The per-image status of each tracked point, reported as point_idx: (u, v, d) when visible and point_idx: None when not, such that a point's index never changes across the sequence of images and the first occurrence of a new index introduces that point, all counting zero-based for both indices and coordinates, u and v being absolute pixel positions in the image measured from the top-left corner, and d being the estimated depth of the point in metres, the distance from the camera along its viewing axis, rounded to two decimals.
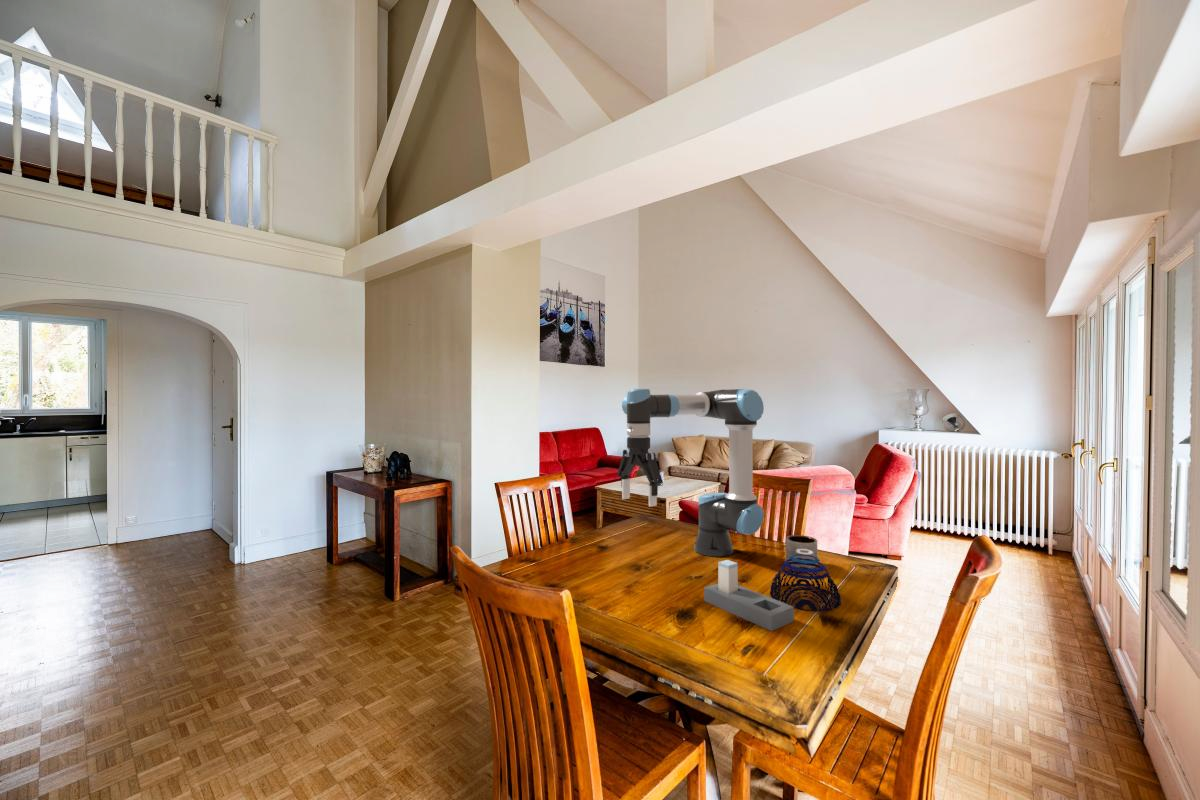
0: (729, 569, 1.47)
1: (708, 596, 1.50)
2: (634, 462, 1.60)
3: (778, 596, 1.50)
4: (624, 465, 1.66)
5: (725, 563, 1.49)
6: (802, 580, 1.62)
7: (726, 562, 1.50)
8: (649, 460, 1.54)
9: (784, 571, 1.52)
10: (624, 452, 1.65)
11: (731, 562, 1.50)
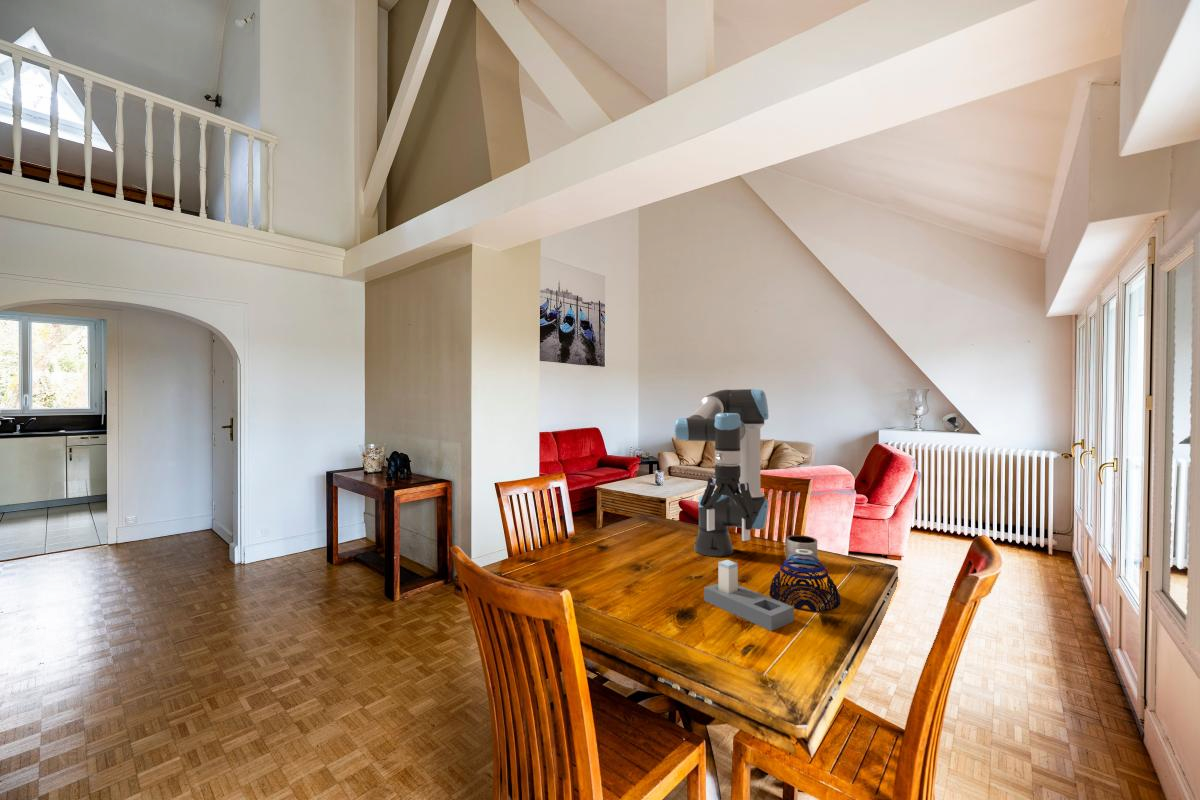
0: (729, 569, 1.47)
1: (708, 596, 1.50)
2: (723, 492, 1.49)
3: (777, 596, 1.50)
4: (709, 494, 1.55)
5: (725, 563, 1.49)
6: (801, 580, 1.62)
7: (726, 562, 1.50)
8: (743, 491, 1.43)
9: (783, 571, 1.52)
10: (710, 480, 1.54)
11: (731, 562, 1.50)
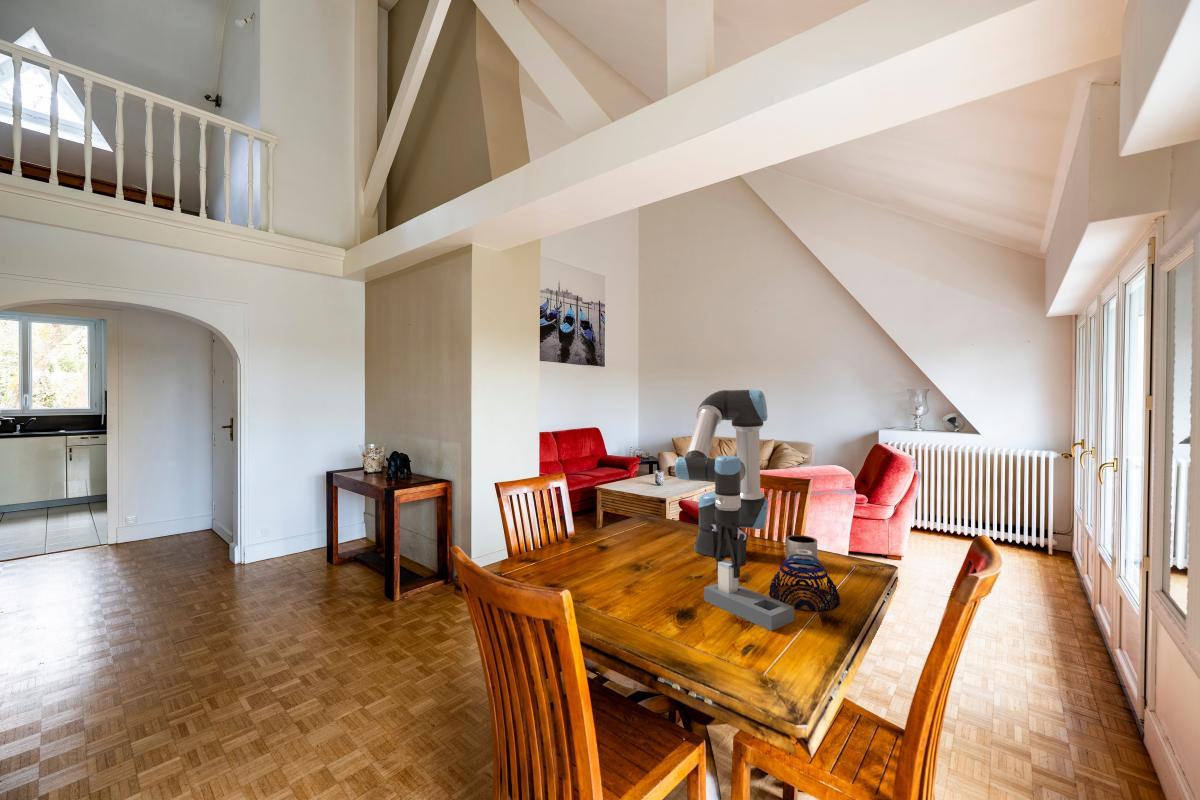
0: (729, 569, 1.47)
1: (708, 596, 1.50)
2: (723, 535, 1.50)
3: (777, 596, 1.50)
4: (715, 542, 1.53)
5: (725, 563, 1.49)
6: (801, 580, 1.62)
7: (726, 562, 1.50)
8: (740, 541, 1.44)
9: (783, 571, 1.52)
10: (710, 527, 1.54)
11: (731, 562, 1.50)
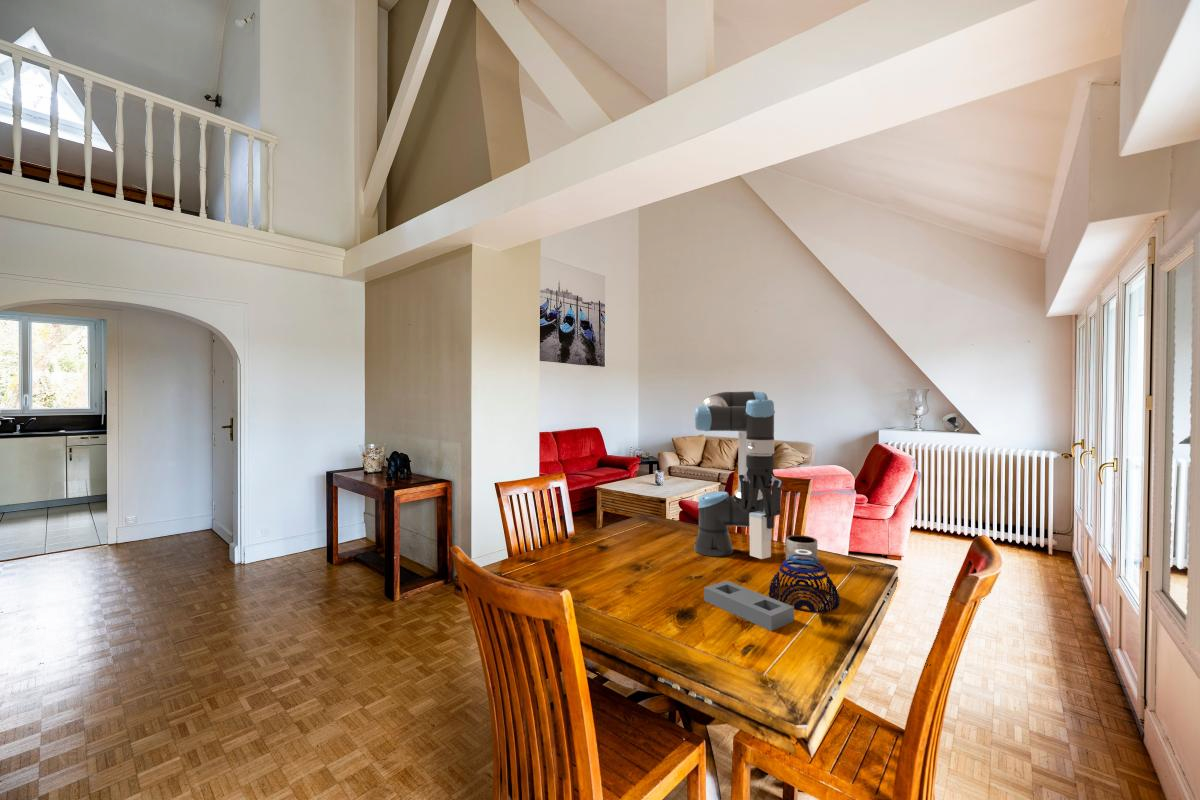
0: (762, 519, 1.37)
1: (708, 596, 1.50)
2: (755, 484, 1.40)
3: (777, 597, 1.49)
4: (746, 493, 1.43)
5: (757, 514, 1.38)
6: (801, 580, 1.62)
7: (758, 513, 1.39)
8: (774, 488, 1.34)
9: (783, 572, 1.51)
10: (741, 477, 1.44)
11: (764, 513, 1.40)
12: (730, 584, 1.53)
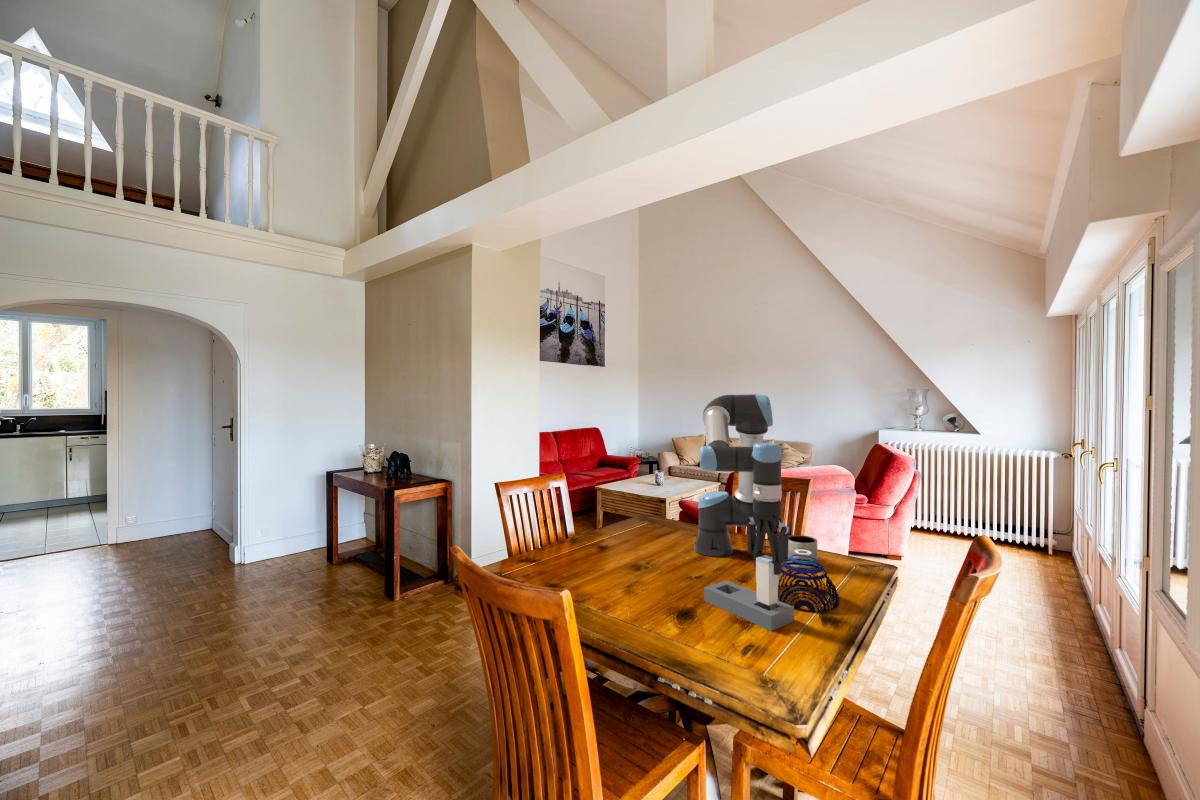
0: (769, 565, 1.35)
1: (708, 596, 1.50)
2: (762, 529, 1.38)
3: None
4: (752, 536, 1.42)
5: (764, 559, 1.37)
6: (800, 580, 1.62)
7: (765, 558, 1.38)
8: (782, 534, 1.33)
9: (782, 572, 1.51)
10: (747, 520, 1.42)
11: (770, 558, 1.38)
12: (730, 584, 1.53)
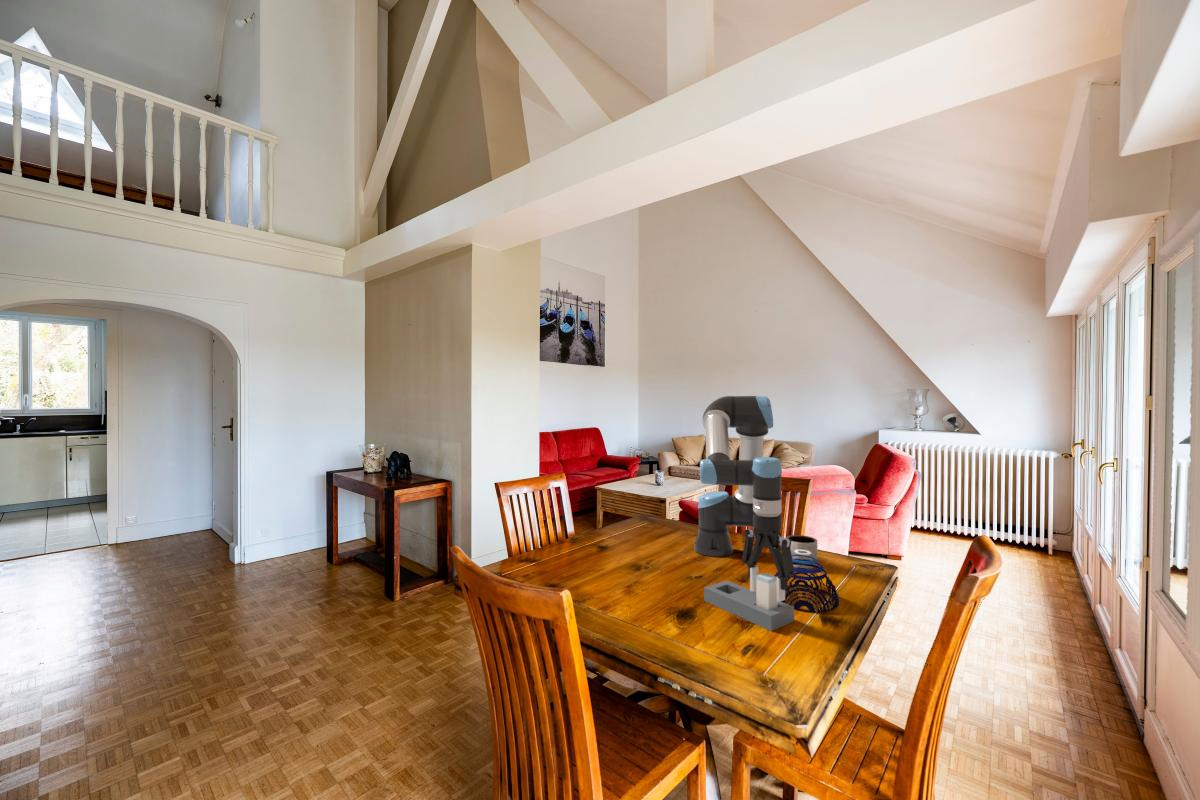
0: (769, 583, 1.35)
1: (708, 596, 1.50)
2: (762, 543, 1.38)
3: None
4: (749, 548, 1.43)
5: (764, 577, 1.37)
6: (800, 581, 1.62)
7: (765, 576, 1.38)
8: (784, 548, 1.32)
9: None
10: (747, 532, 1.42)
11: (770, 576, 1.38)
12: (730, 584, 1.53)
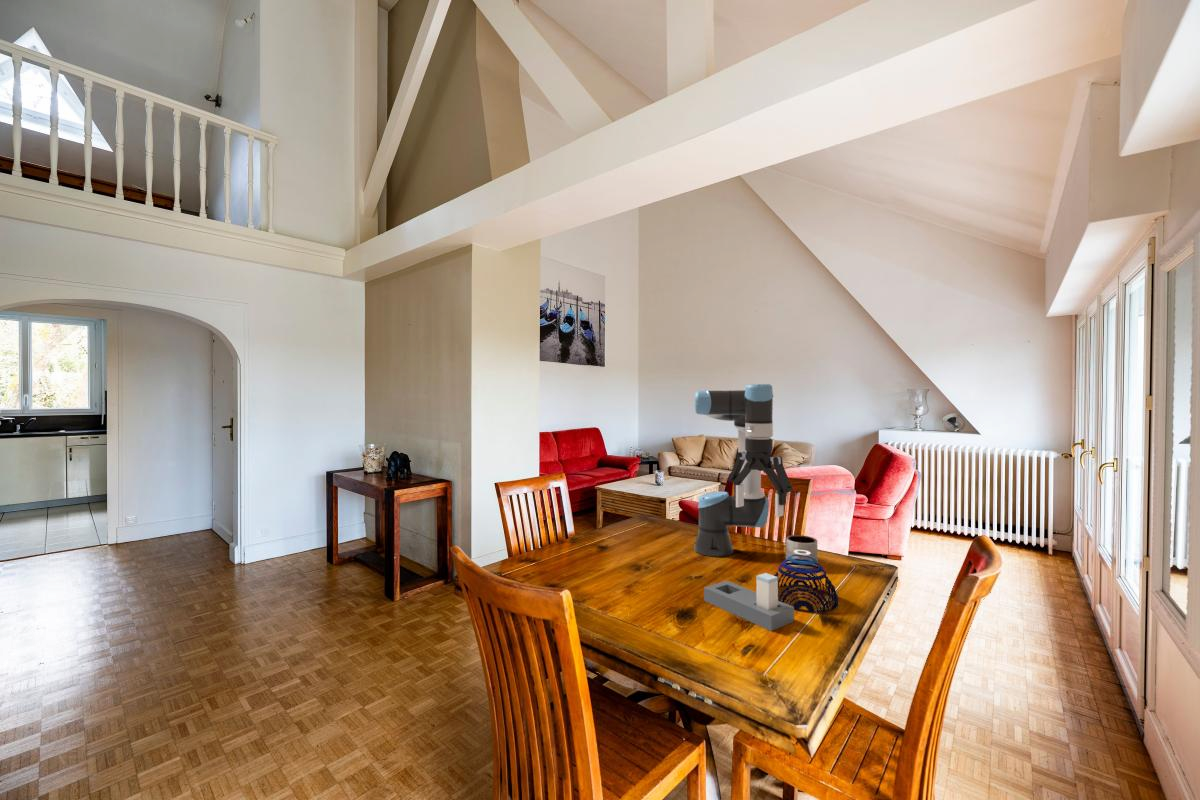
0: (769, 583, 1.35)
1: (708, 596, 1.50)
2: (754, 466, 1.43)
3: None
4: (738, 469, 1.49)
5: (764, 577, 1.37)
6: (799, 581, 1.62)
7: (765, 576, 1.38)
8: (776, 465, 1.37)
9: (782, 572, 1.51)
10: (739, 455, 1.47)
11: (770, 576, 1.38)
12: (730, 584, 1.53)
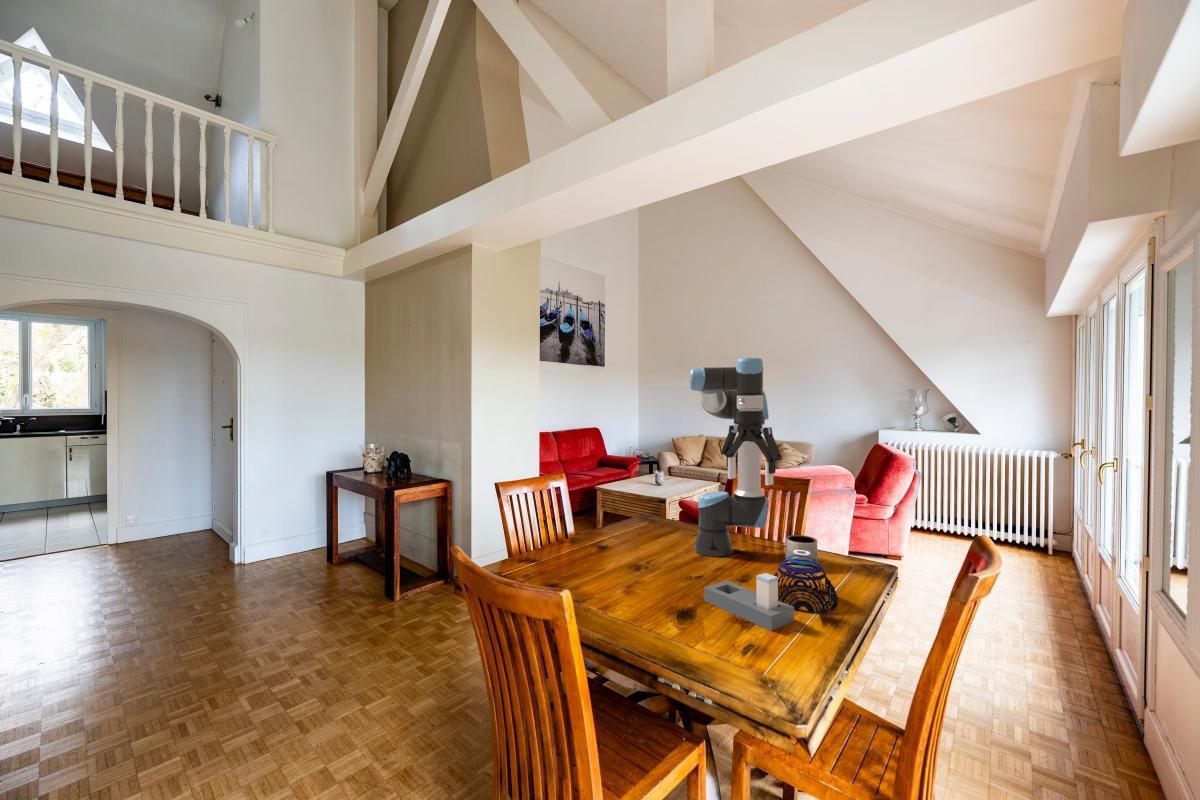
0: (769, 583, 1.35)
1: (708, 596, 1.50)
2: (745, 438, 1.48)
3: None
4: (730, 442, 1.53)
5: (764, 577, 1.37)
6: (799, 581, 1.61)
7: (765, 576, 1.38)
8: (766, 435, 1.41)
9: (781, 572, 1.51)
10: (731, 428, 1.52)
11: (770, 576, 1.38)
12: (730, 584, 1.53)
